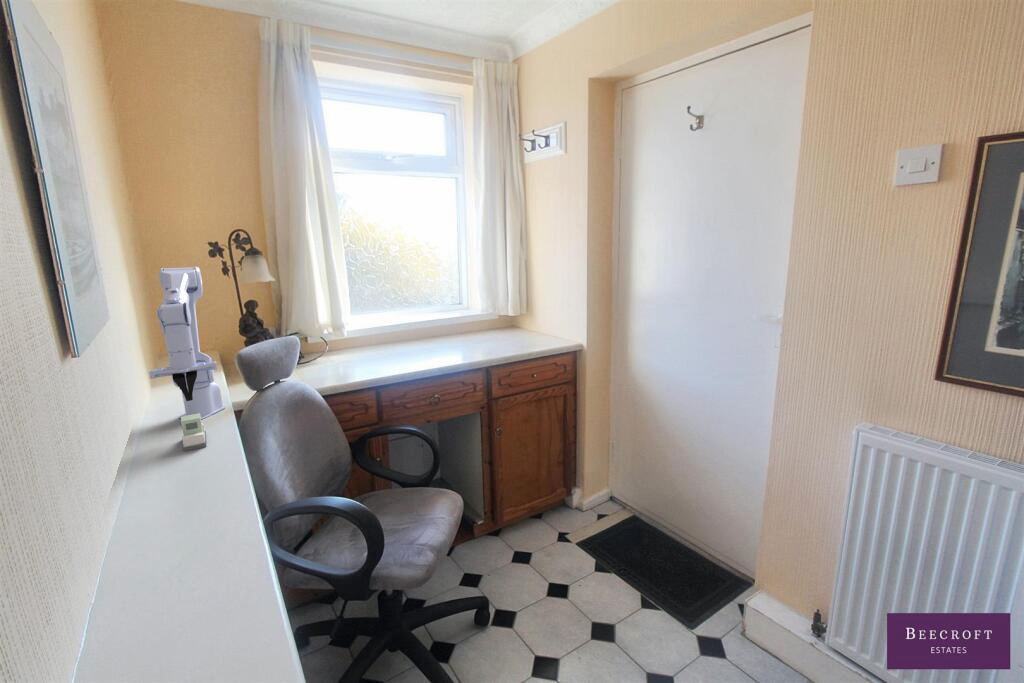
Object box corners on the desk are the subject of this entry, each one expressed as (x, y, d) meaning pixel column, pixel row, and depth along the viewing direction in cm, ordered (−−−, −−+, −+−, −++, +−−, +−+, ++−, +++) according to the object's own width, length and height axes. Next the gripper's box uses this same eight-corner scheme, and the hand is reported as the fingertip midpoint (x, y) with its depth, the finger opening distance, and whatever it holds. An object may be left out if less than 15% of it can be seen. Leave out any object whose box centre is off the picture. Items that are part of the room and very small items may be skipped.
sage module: (185, 436, 124) (181, 416, 122) (203, 432, 126) (199, 413, 125) (184, 442, 120) (180, 421, 119) (203, 438, 122) (200, 418, 121)
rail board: (184, 438, 126) (182, 426, 125) (206, 434, 128) (204, 422, 128) (183, 451, 118) (181, 438, 118) (206, 446, 121) (204, 434, 120)
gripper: (144, 357, 117) (154, 409, 120) (213, 349, 125) (221, 398, 128) (147, 351, 123) (156, 401, 126) (213, 343, 130) (220, 391, 133)
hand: (189, 399), depth 127 cm, fingers closed
